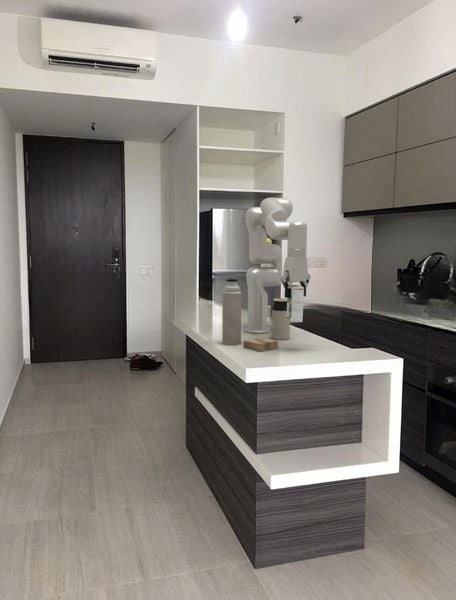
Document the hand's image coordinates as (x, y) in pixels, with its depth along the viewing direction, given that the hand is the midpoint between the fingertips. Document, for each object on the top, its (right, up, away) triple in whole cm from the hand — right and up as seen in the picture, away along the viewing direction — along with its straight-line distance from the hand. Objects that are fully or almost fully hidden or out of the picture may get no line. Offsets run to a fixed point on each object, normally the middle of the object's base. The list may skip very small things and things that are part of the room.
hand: (295, 296), depth 215 cm
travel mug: (-3, -19, +28) cm, 34 cm away
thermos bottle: (-26, -20, +16) cm, 36 cm away
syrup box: (0, -10, +2) cm, 10 cm away
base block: (-14, -21, +6) cm, 26 cm away
